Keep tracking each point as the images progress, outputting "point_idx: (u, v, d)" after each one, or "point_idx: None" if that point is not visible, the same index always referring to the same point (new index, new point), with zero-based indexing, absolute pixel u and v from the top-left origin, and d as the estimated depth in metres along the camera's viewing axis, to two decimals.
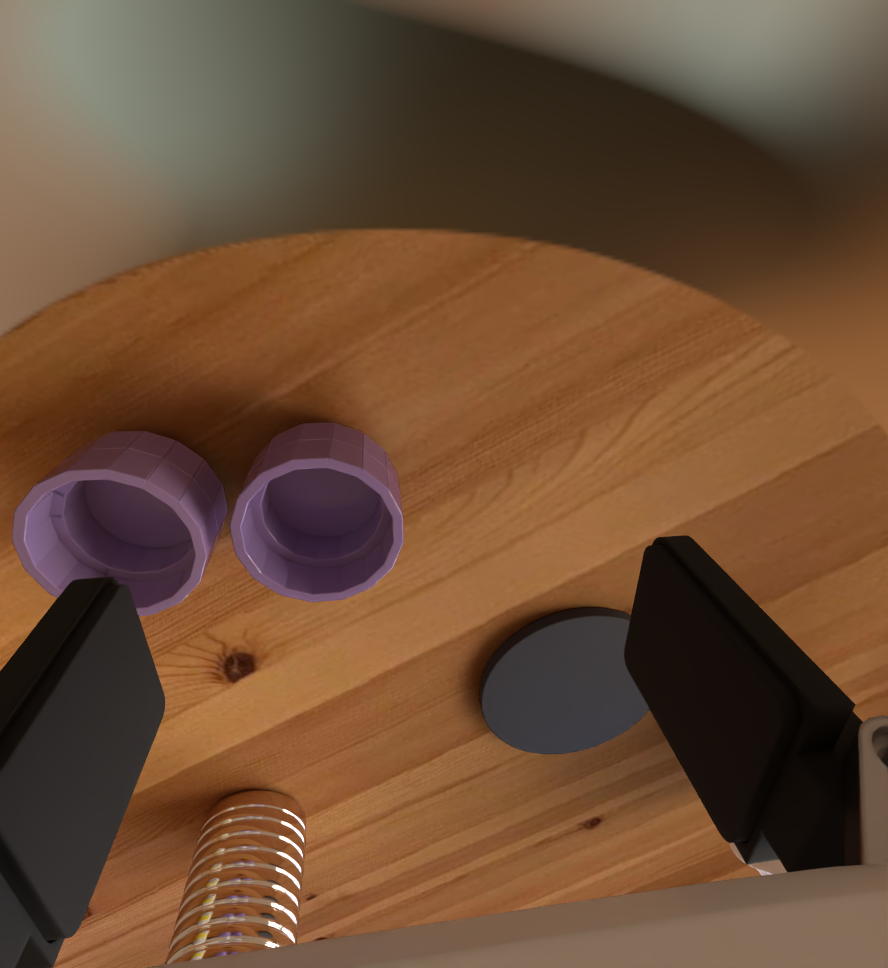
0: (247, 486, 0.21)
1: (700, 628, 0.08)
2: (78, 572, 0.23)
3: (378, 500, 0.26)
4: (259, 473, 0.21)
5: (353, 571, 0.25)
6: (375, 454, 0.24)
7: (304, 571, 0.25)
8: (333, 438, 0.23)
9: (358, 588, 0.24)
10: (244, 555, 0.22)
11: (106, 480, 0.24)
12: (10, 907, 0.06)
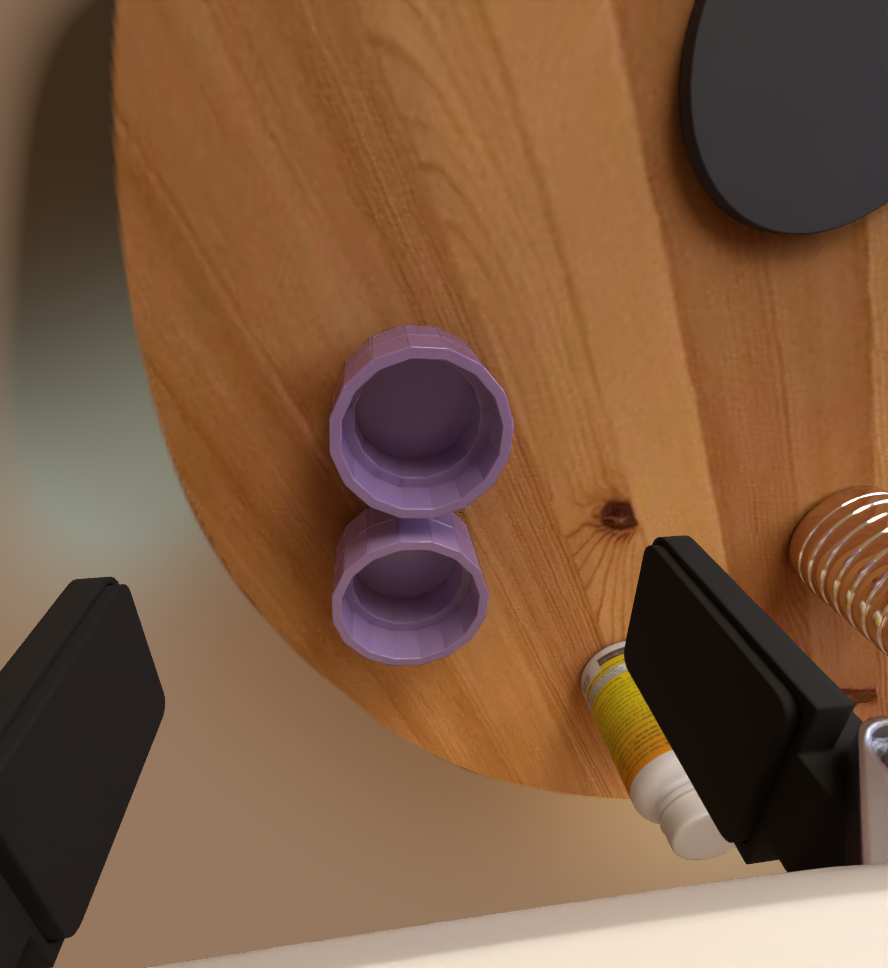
0: (358, 496, 0.21)
1: (700, 628, 0.08)
2: (445, 627, 0.26)
3: None
4: None
5: (492, 402, 0.21)
6: (359, 354, 0.21)
7: (485, 451, 0.23)
8: (333, 399, 0.21)
9: (502, 406, 0.20)
10: (436, 510, 0.22)
11: (381, 580, 0.28)
12: (11, 907, 0.06)
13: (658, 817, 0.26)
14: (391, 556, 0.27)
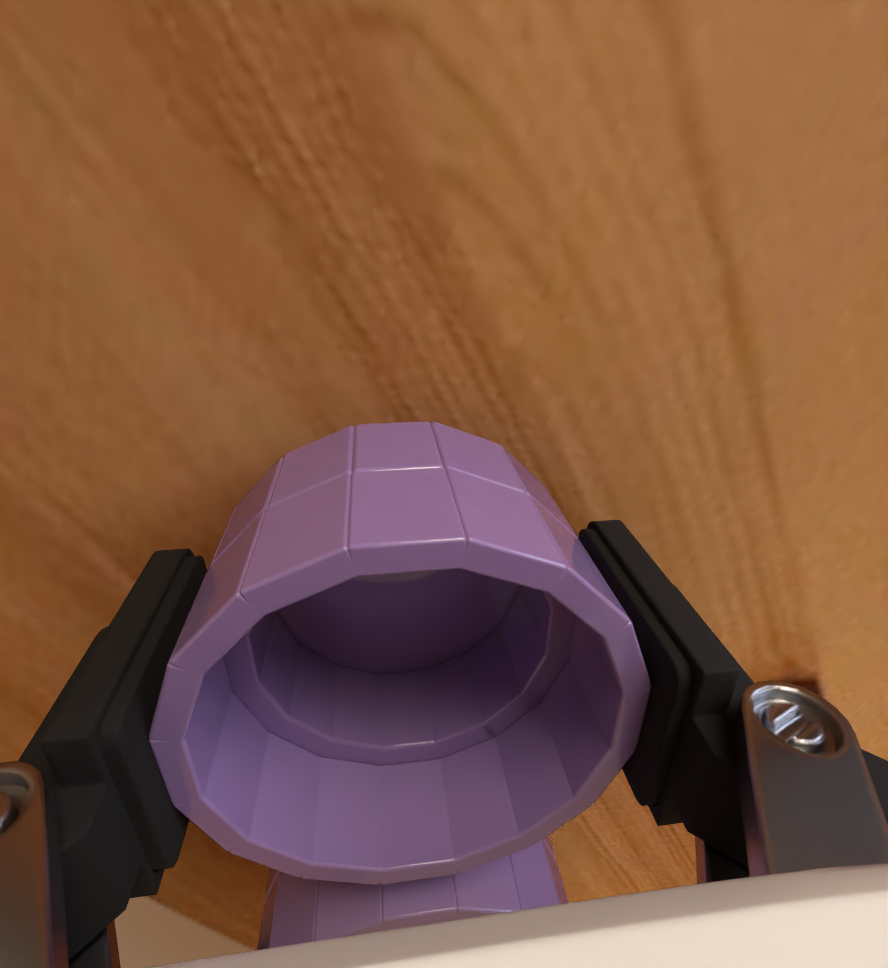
0: (269, 862, 0.09)
1: None
2: None
3: None
4: (230, 846, 0.08)
5: None
6: (244, 520, 0.08)
7: (564, 695, 0.10)
8: None
9: (622, 654, 0.07)
10: (463, 862, 0.09)
11: None
12: (129, 834, 0.07)
13: None
14: None
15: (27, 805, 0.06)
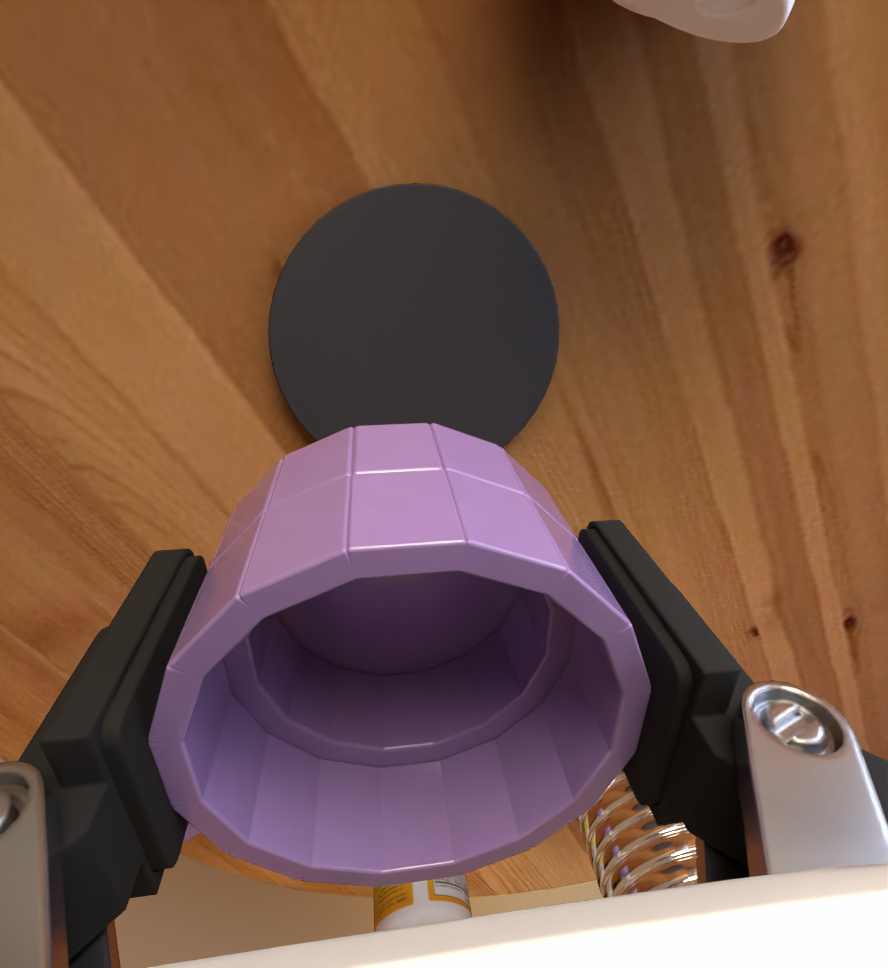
0: (269, 864, 0.09)
1: None
2: None
3: None
4: (229, 849, 0.08)
5: None
6: (243, 521, 0.08)
7: (564, 697, 0.10)
8: None
9: (622, 657, 0.07)
10: (463, 864, 0.09)
11: None
12: (129, 833, 0.07)
13: None
14: None
15: (27, 805, 0.06)
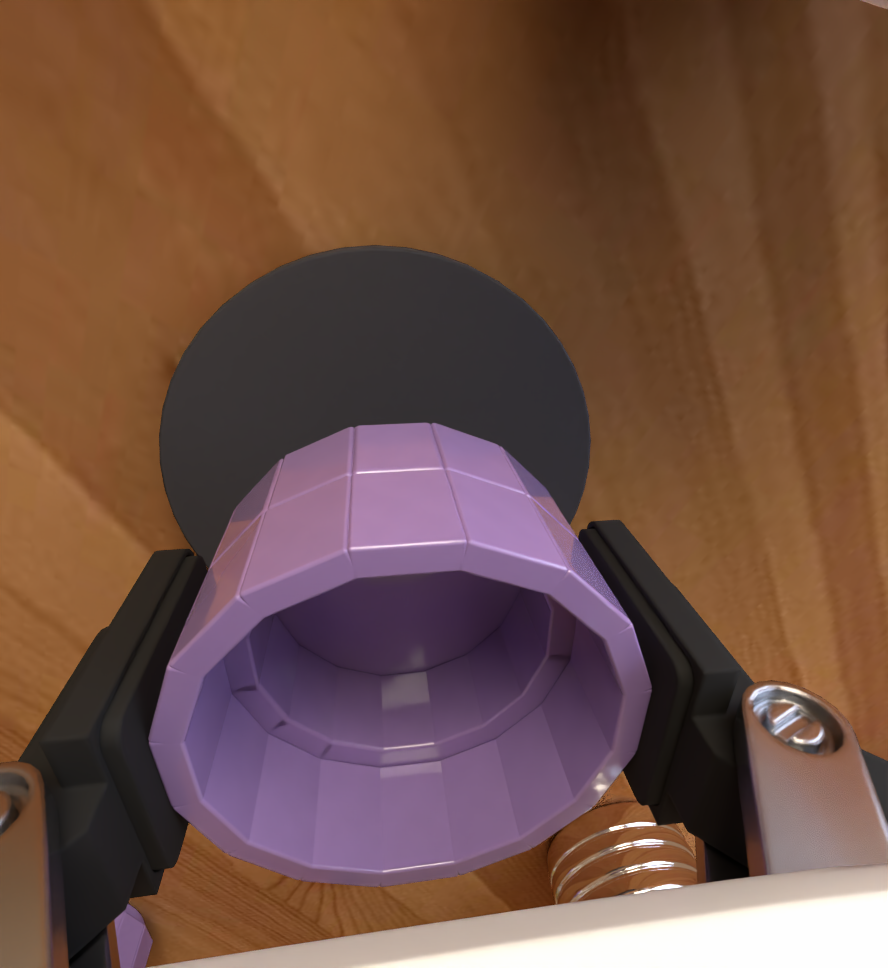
0: (269, 865, 0.09)
1: None
2: None
3: None
4: (229, 849, 0.08)
5: None
6: (244, 521, 0.08)
7: (565, 697, 0.10)
8: None
9: (623, 656, 0.07)
10: (463, 864, 0.09)
11: None
12: (129, 833, 0.07)
13: None
14: None
15: (27, 805, 0.06)
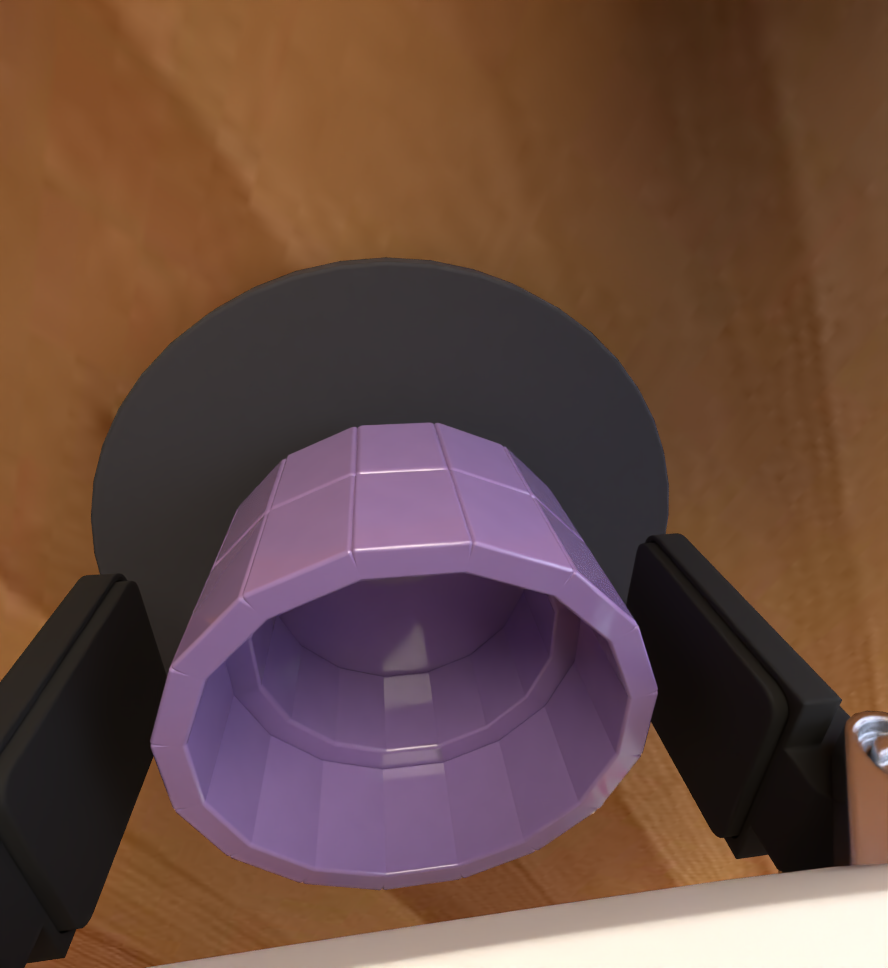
0: None
1: (691, 625, 0.08)
2: None
3: None
4: None
5: None
6: (246, 522, 0.08)
7: (569, 699, 0.10)
8: None
9: (629, 659, 0.07)
10: (467, 866, 0.09)
11: None
12: (24, 898, 0.06)
13: None
14: None
15: None
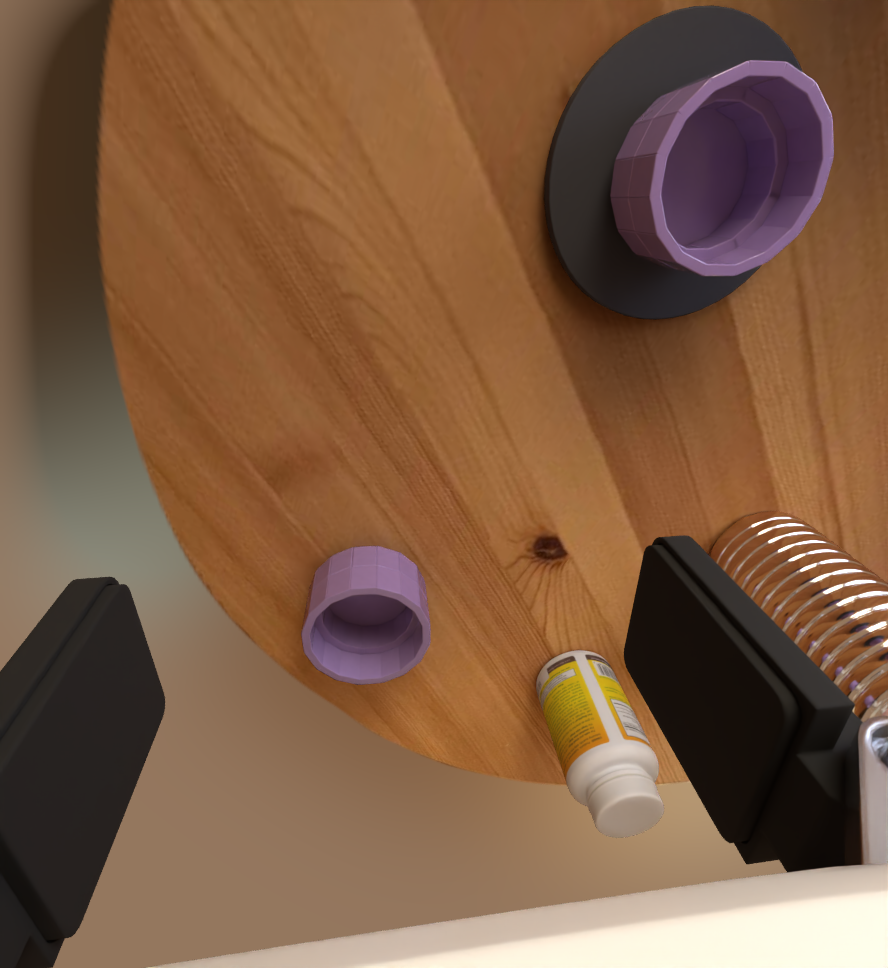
0: (666, 250, 0.21)
1: (700, 628, 0.08)
2: (402, 651, 0.32)
3: (717, 111, 0.22)
4: (656, 235, 0.21)
5: (800, 143, 0.21)
6: (662, 104, 0.21)
7: (778, 208, 0.22)
8: (634, 154, 0.21)
9: (826, 133, 0.20)
10: (739, 266, 0.22)
11: (351, 612, 0.33)
12: (10, 907, 0.06)
13: (587, 802, 0.31)
14: None
15: None
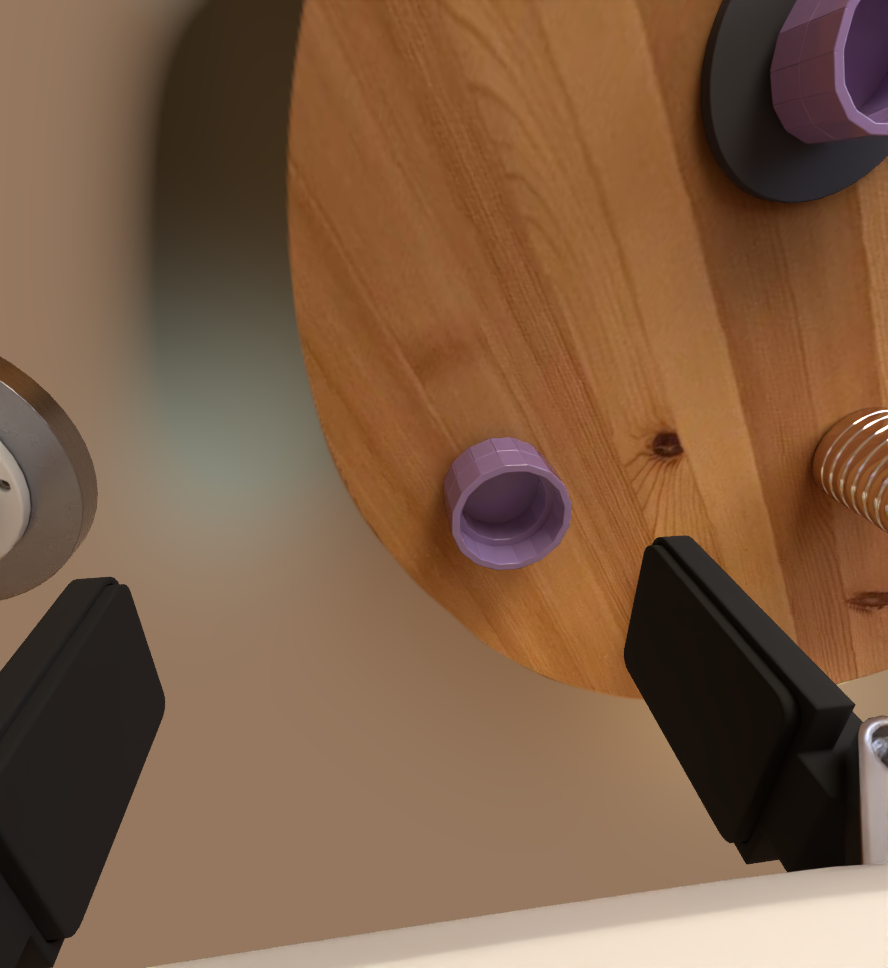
0: (841, 107, 0.23)
1: (700, 628, 0.08)
2: (535, 540, 0.33)
3: None
4: (833, 91, 0.22)
5: None
6: None
7: None
8: (808, 20, 0.23)
9: None
10: None
11: (479, 509, 0.35)
12: (10, 907, 0.06)
13: None
14: (486, 488, 0.34)
15: None
